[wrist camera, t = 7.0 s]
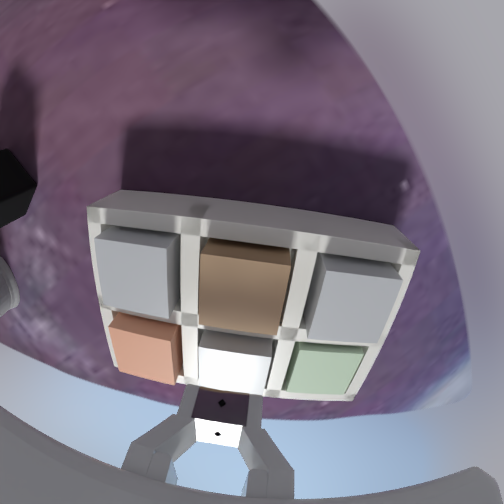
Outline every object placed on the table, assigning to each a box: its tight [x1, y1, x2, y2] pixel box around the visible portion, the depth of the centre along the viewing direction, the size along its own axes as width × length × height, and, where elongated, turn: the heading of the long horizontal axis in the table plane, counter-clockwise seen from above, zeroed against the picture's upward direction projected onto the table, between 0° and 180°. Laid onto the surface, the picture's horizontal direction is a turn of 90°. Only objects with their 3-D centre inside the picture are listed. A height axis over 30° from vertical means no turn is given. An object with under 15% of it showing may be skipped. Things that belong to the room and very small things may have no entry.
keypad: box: [87, 190, 420, 401], centre depth 21 cm, size 15×22×6 cm
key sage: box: [286, 341, 364, 395], centre depth 22 cm, size 5×5×3 cm
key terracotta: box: [108, 312, 183, 385], centre depth 21 cm, size 5×5×3 cm
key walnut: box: [199, 237, 291, 336], centre depth 18 cm, size 5×5×3 cm
